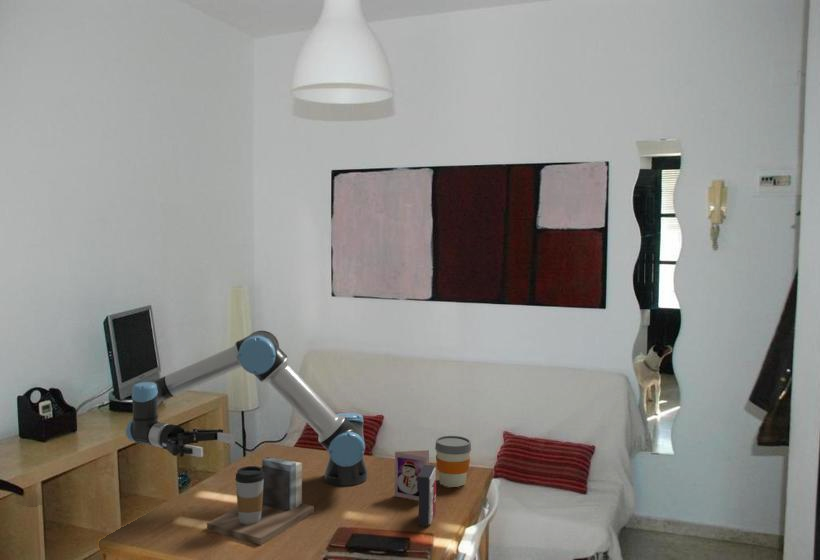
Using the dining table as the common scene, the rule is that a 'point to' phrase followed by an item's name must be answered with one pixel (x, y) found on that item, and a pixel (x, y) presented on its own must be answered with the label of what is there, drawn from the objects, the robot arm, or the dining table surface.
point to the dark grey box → (426, 494)
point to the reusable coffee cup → (452, 460)
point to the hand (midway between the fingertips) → (218, 445)
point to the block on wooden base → (270, 505)
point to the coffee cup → (250, 494)
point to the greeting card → (409, 472)
